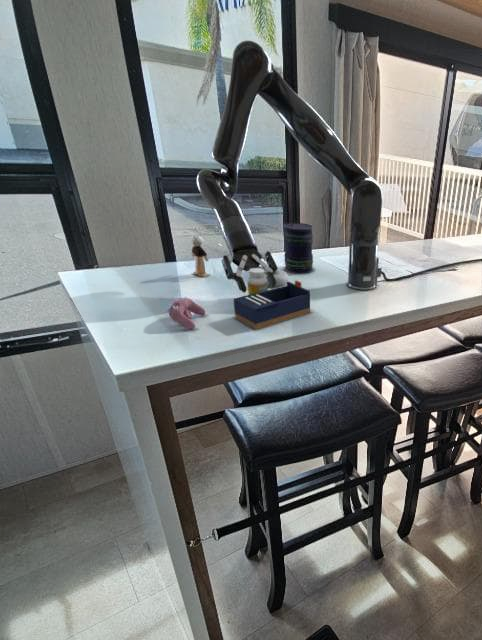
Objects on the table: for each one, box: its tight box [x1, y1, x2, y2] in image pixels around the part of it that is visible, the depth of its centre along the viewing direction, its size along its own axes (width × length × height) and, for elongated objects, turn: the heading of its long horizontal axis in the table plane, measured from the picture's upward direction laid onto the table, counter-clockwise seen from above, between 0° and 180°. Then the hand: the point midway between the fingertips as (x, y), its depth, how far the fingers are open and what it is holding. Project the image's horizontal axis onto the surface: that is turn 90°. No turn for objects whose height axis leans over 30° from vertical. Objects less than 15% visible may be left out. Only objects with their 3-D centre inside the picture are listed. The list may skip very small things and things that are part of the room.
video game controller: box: [167, 296, 206, 330], centre depth 105 cm, size 10×5×7 cm, turn 5°
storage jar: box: [283, 222, 314, 275], centre depth 147 cm, size 10×10×15 cm
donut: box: [264, 269, 289, 287], centre depth 136 cm, size 10×3×10 cm
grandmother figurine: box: [190, 234, 210, 278], centre depth 133 cm, size 8×4×13 cm, turn 68°
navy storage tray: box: [232, 279, 311, 330], centre depth 113 cm, size 18×9×8 cm, turn 142°
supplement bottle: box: [246, 268, 269, 295], centre depth 119 cm, size 5×5×10 cm
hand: (259, 288), depth 118 cm, fingers open, 8 cm apart
